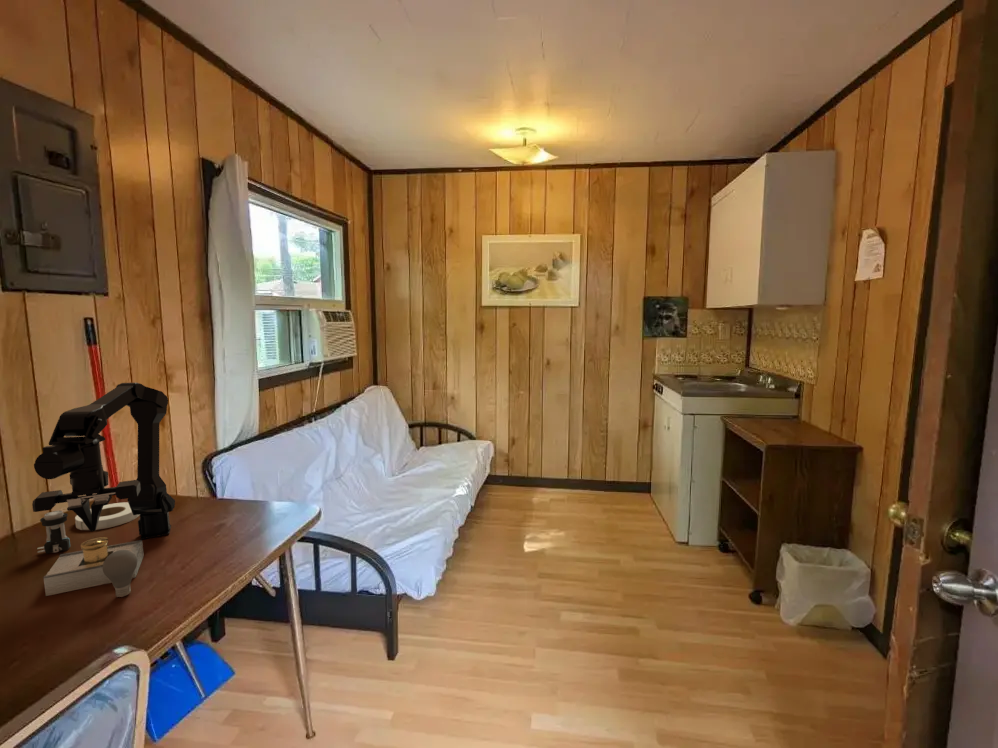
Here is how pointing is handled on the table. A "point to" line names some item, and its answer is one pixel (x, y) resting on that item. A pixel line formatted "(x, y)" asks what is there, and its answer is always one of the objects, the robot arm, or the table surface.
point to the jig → (84, 570)
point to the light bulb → (120, 570)
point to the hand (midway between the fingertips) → (93, 530)
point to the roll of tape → (110, 516)
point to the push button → (55, 532)
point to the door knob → (95, 550)
